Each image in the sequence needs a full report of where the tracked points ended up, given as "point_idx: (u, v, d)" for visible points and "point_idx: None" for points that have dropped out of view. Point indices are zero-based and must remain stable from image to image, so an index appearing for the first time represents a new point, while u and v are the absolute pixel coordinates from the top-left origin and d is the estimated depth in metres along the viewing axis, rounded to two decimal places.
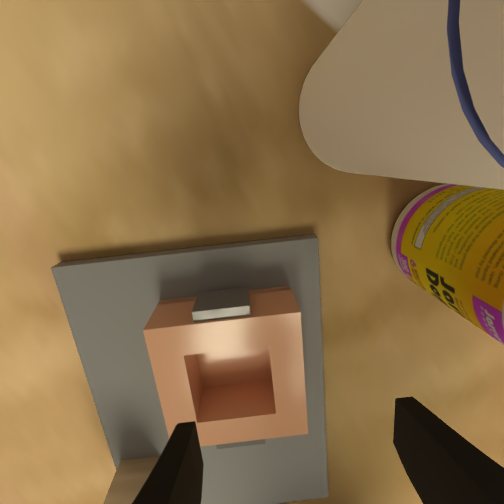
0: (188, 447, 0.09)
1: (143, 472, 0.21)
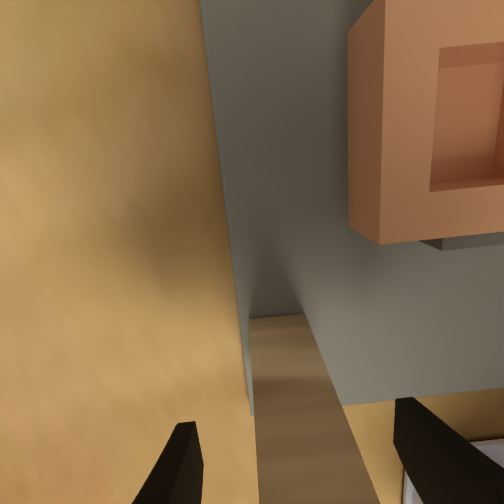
0: (188, 447, 0.09)
1: (291, 327, 0.15)
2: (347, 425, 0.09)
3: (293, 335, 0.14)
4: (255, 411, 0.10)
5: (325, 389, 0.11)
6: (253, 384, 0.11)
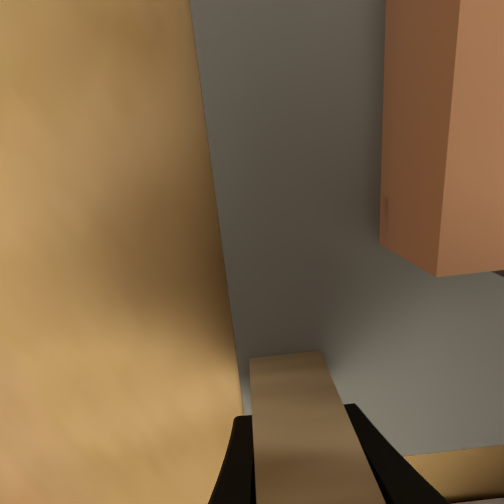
0: None
1: (303, 370, 0.11)
2: None
3: (307, 382, 0.11)
4: None
5: (359, 474, 0.08)
6: (256, 462, 0.08)
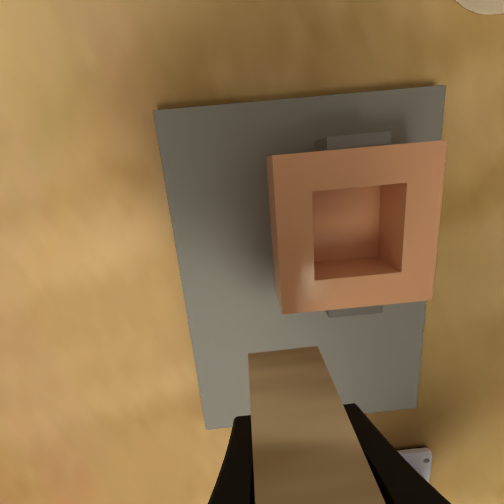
0: None
1: (301, 365, 0.12)
2: None
3: (305, 376, 0.11)
4: (257, 501, 0.07)
5: (354, 463, 0.08)
6: (254, 453, 0.08)
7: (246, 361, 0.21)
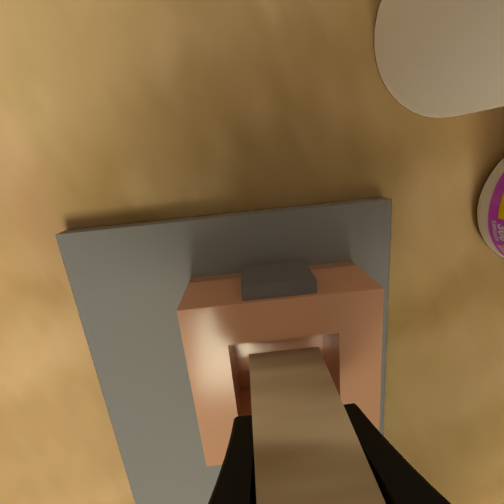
0: None
1: (302, 365, 0.12)
2: None
3: (305, 377, 0.11)
4: (258, 501, 0.07)
5: (355, 464, 0.08)
6: (255, 453, 0.08)
7: (186, 480, 0.19)
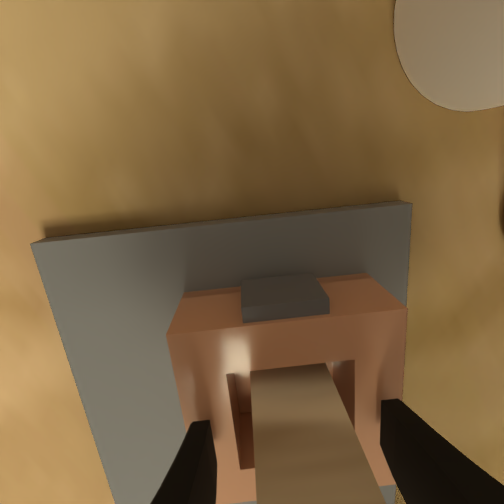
0: (205, 445, 0.09)
1: None
2: (380, 495, 0.07)
3: None
4: (257, 471, 0.08)
5: (346, 439, 0.09)
6: (254, 431, 0.09)
7: None
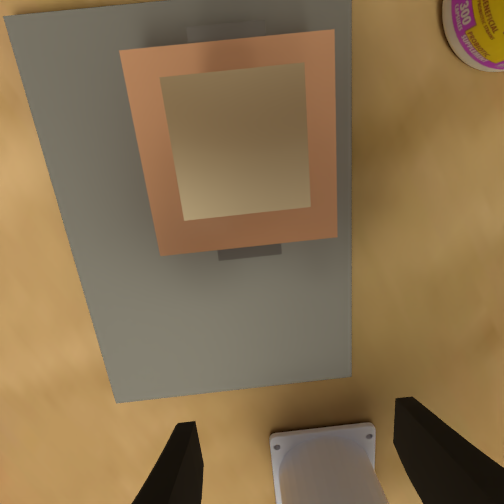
0: (188, 447, 0.09)
1: None
2: None
3: None
4: None
5: None
6: None
7: (152, 323, 0.18)
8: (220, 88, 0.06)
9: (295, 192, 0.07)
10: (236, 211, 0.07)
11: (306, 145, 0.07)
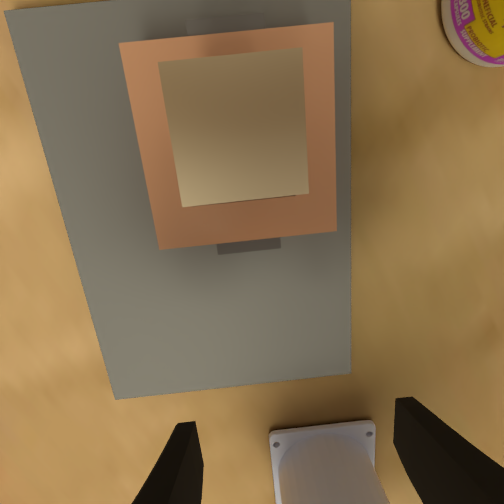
0: (188, 447, 0.09)
1: None
2: None
3: None
4: None
5: None
6: None
7: (151, 319, 0.18)
8: (218, 73, 0.06)
9: (293, 178, 0.07)
10: (234, 198, 0.07)
11: (304, 131, 0.07)
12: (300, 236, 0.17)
